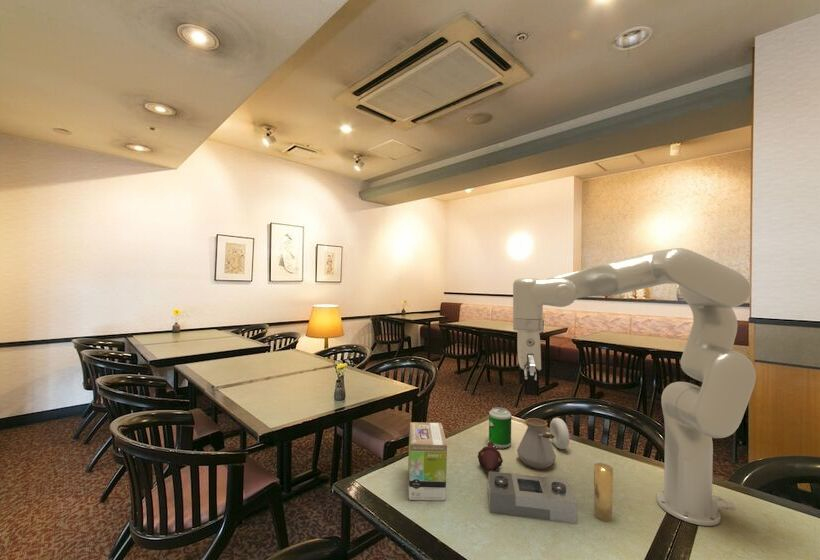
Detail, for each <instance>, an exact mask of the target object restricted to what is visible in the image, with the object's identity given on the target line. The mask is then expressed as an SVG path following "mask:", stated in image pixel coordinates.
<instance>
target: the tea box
mask: <svg viewBox="0 0 820 560" xmlns="http://www.w3.org/2000/svg"><path fill="white" fill-rule="evenodd" d="M408 431H409V432H408V433H409V434H408V458H407V459H408V468H407V469H408V470H407V471H408V474H407V475H408V481H407V482H408V500H410V501H446V499H447V468H448V467H447V465H448V464H447V463H448V462H447V461H448V460H447V458H448V457H447V456H448V444H447V439H446V435H445V431H444V426H443V424H442V422H417V421H415V422H414V421H413V422H412V421H411V422H409V430H408Z"/></svg>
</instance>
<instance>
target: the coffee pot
mask: <svg viewBox="0 0 820 560" xmlns="http://www.w3.org/2000/svg"><path fill="white" fill-rule="evenodd" d="M524 423H525V424H526V425H527V428H526V430H525V432H524V435H523V437H522V439H521V441H520V443H519V445H518V447H517V450H516V452H517V456H518V457H519V458H520V460H521V461H522V462H523V463H524V465H526V466H527V467H530V468H532V469H538V470H544V469H548V468H549V467H550V466H552V464H554V463H555V461H556V459H557V455H556V454H555V453H556V452H555V450H554V448H553V446H552V444H553V445H555V444H554V443H553V441H551V440H552V438H554V435H552V434H550V433H547V431H546V427H547V426H548V422H547V421H546V420H545V419H541V418H539V417H538V418H535V417H531V418H530V417H529V418H527V419H526V420H525V421H524ZM555 438H556V437H555ZM557 441H558V440H557ZM556 443H557V442H556Z"/></svg>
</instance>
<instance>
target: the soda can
mask: <svg viewBox="0 0 820 560" xmlns="http://www.w3.org/2000/svg"><path fill="white" fill-rule="evenodd" d="M489 441H492V442H493V443H494V447H497V448H496V449H498V448H502V449H501V450H503V449H504V448H506V449H508V448H509V447H510V446H511V445H512V414H511V412H510V411H509V410H508V408H505V407H504V408H503V407H493V408H492V409H490V410H489V412H488V442H489ZM507 447H508V448H507ZM504 450H505V449H504Z"/></svg>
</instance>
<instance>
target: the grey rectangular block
mask: <svg viewBox="0 0 820 560" xmlns="http://www.w3.org/2000/svg"><path fill="white" fill-rule="evenodd" d="M487 484H488V486H487V487H488V488H487V489H488V502H489V503H488V504H489V514H498V515H506V516H513V517H521V518H527V519H528V518H529V519H536V520H546V521H551V522H552V521H553V522H560V523H561V522H562V523H568V524H569V523H570V524H578V501H577V499H576V496H575V494H574V492H573V491H572V489H571V486H570V484H569V483H568V480H567V478H557V477H550V476H549V477H546V476H539V475H529V474H519V473H511V472H510V473H509V472H501V471H500V472H499V471H492V470H488V483H487Z"/></svg>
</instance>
